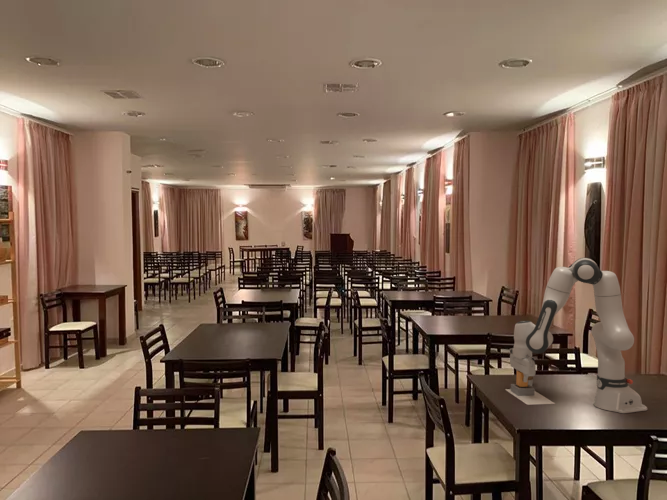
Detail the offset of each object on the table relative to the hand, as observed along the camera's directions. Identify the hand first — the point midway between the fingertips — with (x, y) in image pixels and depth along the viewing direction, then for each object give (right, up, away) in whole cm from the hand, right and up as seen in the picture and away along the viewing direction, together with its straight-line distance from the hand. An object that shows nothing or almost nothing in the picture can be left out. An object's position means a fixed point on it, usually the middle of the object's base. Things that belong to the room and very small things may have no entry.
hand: (522, 380), depth 263 cm
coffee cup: (+8, -7, +17) cm, 20 cm away
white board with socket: (+2, -8, -5) cm, 9 cm away
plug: (0, -3, 0) cm, 3 cm away
